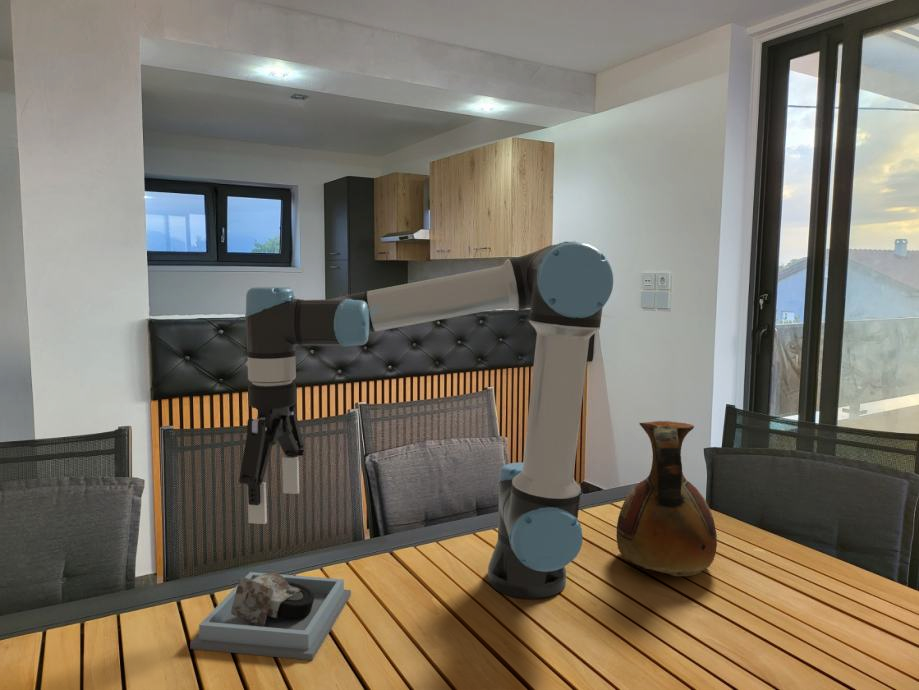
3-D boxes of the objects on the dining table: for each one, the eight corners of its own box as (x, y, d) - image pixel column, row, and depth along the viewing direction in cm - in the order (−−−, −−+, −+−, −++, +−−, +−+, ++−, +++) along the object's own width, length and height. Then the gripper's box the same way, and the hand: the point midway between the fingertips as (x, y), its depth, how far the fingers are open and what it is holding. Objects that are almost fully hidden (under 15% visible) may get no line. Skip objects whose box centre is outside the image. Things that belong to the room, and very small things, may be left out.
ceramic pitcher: (704, 548, 141) (712, 414, 137) (725, 593, 121) (735, 439, 117) (612, 540, 144) (618, 409, 140) (618, 583, 124) (625, 432, 121)
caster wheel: (316, 618, 113) (285, 641, 103) (263, 594, 116) (228, 614, 107) (326, 582, 112) (295, 602, 103) (272, 559, 116) (238, 576, 106)
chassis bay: (350, 595, 118) (350, 577, 118) (312, 660, 98) (312, 638, 98) (247, 586, 121) (247, 569, 120) (190, 648, 101) (189, 627, 101)
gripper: (280, 369, 117) (283, 481, 120) (211, 395, 93) (217, 536, 95) (320, 370, 116) (322, 483, 119) (260, 397, 92) (265, 539, 94)
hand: (275, 507), depth 107 cm, fingers open, 13 cm apart
